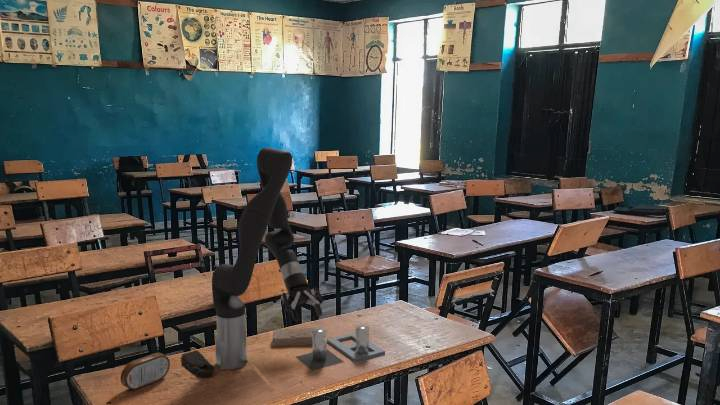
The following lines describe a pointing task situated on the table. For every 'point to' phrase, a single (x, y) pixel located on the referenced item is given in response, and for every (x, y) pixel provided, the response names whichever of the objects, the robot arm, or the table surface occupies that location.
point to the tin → (145, 371)
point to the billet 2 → (362, 339)
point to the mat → (312, 365)
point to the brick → (292, 337)
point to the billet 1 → (319, 344)
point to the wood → (197, 364)
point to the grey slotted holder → (354, 348)
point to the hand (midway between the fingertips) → (308, 318)
